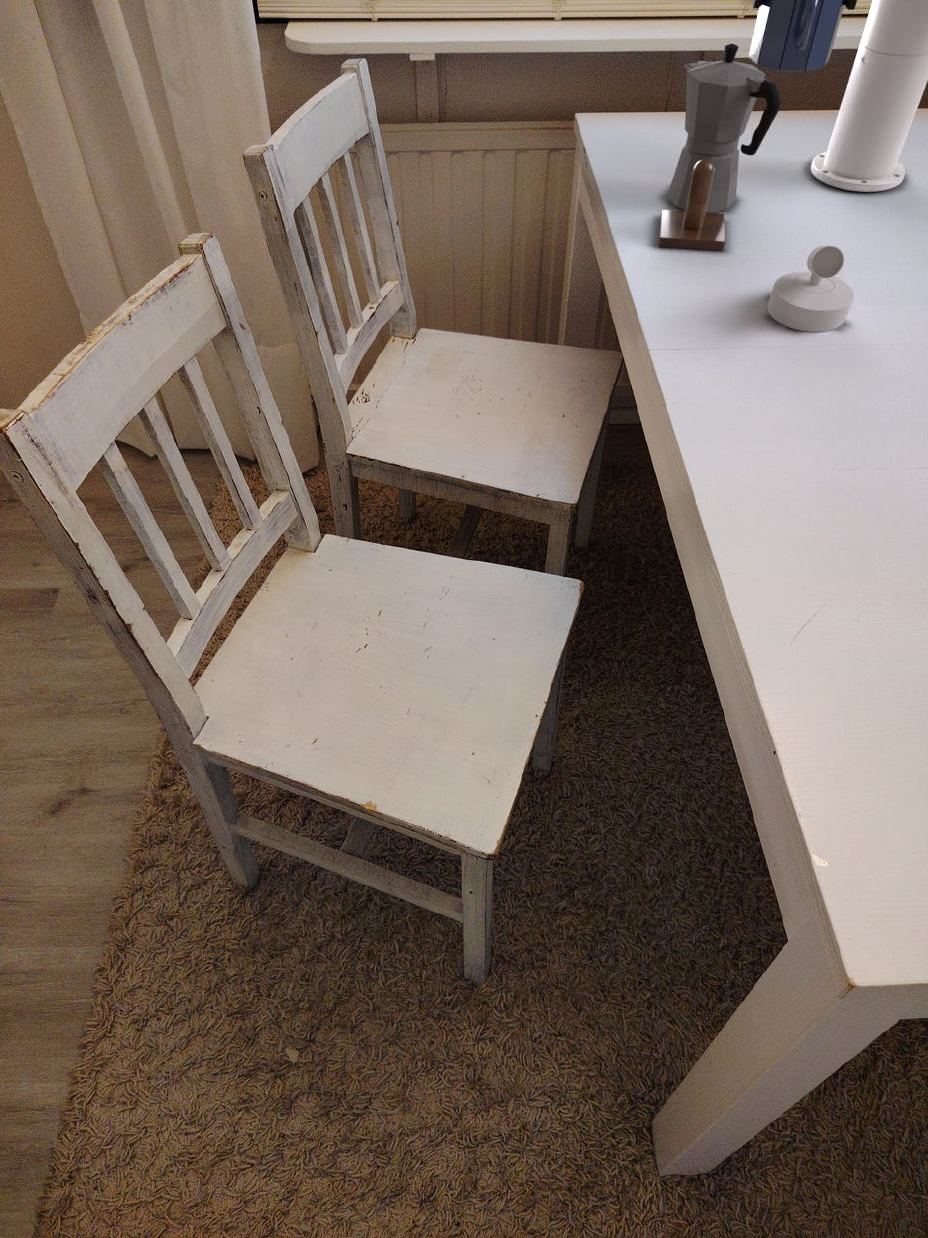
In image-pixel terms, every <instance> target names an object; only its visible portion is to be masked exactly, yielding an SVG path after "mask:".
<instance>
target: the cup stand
mask: <svg viewBox="0 0 928 1238" xmlns="http://www.w3.org/2000/svg"><path fill="white" fill-rule="evenodd" d="M714 172H715V167H714V164H713V163H712V162H711V161H710V160H708V159H702V160H700V161H698V162H697V163H696V164H695V166H694V168H693V173H692V178H691V183H690V188H689V194H688V199H687V204H686V210H674V209H673V210H670V209H662V210H661V216H660V227H659V238H658V239H659V241H658V247H659V248H670V249H672V248H673V249H685V250H686V249H687V250H702V251H715V252H716V251H718V252H723V251H724V248H725V244H726V230H725V227H726V226H725V213H724V212H723V213H721V212H715V213H707V212H706V210H707V206H708V201H709V196H710V191H711V186H712V182H713V177H714Z"/></svg>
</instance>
